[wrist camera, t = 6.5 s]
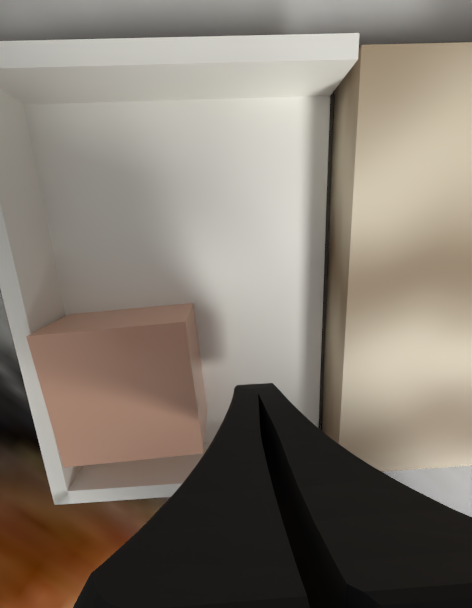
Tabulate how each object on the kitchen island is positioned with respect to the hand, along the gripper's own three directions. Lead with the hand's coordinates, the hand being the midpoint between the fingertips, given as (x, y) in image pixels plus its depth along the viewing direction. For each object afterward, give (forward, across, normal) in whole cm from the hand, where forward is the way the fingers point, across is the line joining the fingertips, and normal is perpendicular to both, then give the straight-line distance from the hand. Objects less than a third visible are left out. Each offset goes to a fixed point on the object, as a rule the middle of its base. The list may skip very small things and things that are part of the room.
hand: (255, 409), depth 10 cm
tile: (0, +4, -1) cm, 5 cm away
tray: (+3, +2, -4) cm, 5 cm away
